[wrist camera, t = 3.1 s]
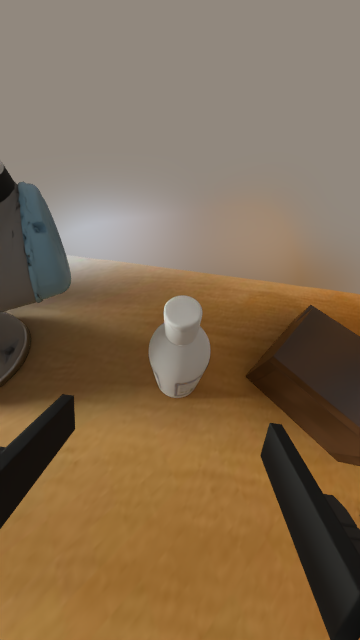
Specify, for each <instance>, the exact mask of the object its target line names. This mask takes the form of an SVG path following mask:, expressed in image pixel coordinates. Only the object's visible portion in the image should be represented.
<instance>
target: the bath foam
mask: <svg viewBox="0 0 360 640" xmlns="http://www.w3.org/2000/svg"><path fill="white" fill-rule="evenodd" d="M201 319H202V308H201V305H200V304H199V302H198V301H197V300H195V299H194V298H192V297H189V296H176V297H173V298H172V299H170V300H169V301H168V302H167V303H166V305H165V307H164V323H163V324H162V325H160V326H159V327H158V328H157V329H156V331H155V332H154V334H153V336H152V338H151V340H150V344H149V361H150V364H151V367H152V370H153V373H154V376H155V379H156V382H157V384H158V386H159V388H160V390H161V391H162V392H163V393H164V394H166V395H167V396H169V397H173V398H182V397H185V396H187V395H189V394H190V393H191V392H192V391H193V390H194V389H195V387H196V386H197V384H198V382H199V380H200V379H201V377H202V375H203V373H204V371H205V370H206V368H207V366H208V363H209V360H210V343H209V339H208V337H207V335H206V333H205V331H204V330H203V329H202V328H201V327H200V322H201Z"/></svg>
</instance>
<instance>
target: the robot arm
mask: <svg viewBox="0 0 360 640" xmlns="http://www.w3.org/2000/svg"><path fill="white" fill-rule="evenodd" d="M70 284H71V273H70V268H69V264H68V261H67V257H66V254H65V251H64V248H63V245H62V242H61V239H60V236H59V233H58V230H57V228H56V225H55V223H54V220H53V218H52V215H51V213H50V211H49V208H48V206H47V204H46V202H45V200H44V199H43V197H42V195H41V193H40V191H39V189H38V188H37V187H36V186H35V185H33V184H26V183H25V182H19V183H18V184H16V183H15V182H14V181H13V179H12V178H11V176H10V175H9V173H8V171H7V170H6V168H5V166H4V165H3V164H2V162H1V161H0V386H2V385H3V384H4V383H6V382H7V381H8V380H9V379H10V378H11V377H12V376H13V375H14V374H15V373H16V372H17V371H18V369H19V368H20V367H21V365H22V364H23V362H24V361H25V359H26V357H27V355H28V352H29V349H30V344H31V336H30V332H29V330H28V328H27V326H26V325H25V324H24V323H23V322H21V321H20V320H19V319H17V318H16V317H14V316H12V315H10V314H7V313H5V312H4V311H7V310H11V309H14V308H18V307H21V306H25V305H28V304H32V303H35V302H38V303H39V302H42V301H43V299H46V298H49V297H52V296H55V295H58V294H61V293H63V292H65V291H66V290H67V289H68V288H69V286H70ZM74 430H75V414H74V396H72V395H65V394H62V395H61V396H60V397H59V398H58V399H57V400H56V401H55V402H54V403H53V404H52V405H51V406H50V407H49V408H47V409H46V410H45V411H44V412H43V413H42V414H41V415H40V416H39V417H38V418H37V419H36V420H35V421H34V422H33V423H31V424H30V425H29V426H28V427H27V428H26V429H25V430H24V431H23V432H22V433H21V434H20V435H19V436H18V437H17V438H15V439H14V440H13V441H12V442H11V443H10V444H9V445H8V446H7V447H0V529H1V527H2V526H3V525H4V523H5V522H6V521H7V519H8V518H9V517H10V515H11V514H12V513H13V511H14V510H15V509H16V507H17V506H18V505H19V503H20V502H21V501H22V499H23V498H24V497H25V495H26V494H27V493H28V491H29V490H30V489H31V487H32V486H33V485H34V483H35V482H36V481H37V479H38V478H39V477H40V475H41V474H42V473H43V471H44V470H45V469H46V467H47V466H48V465H49V463H50V462H51V461H52V459H53V458H54V457H55V455H56V454H57V452H58V451H59V450H60V448H61V447H62V446H63V444H64V443H65V442H66V440H67V439H68V438H69V436H70V435H71V434H72V432H73V431H74ZM261 458H262V461H263V464H264V466H265V469H266V472H267V474H268V477H269V479H270V482H271V485H272V487H273V490H274V493H275V495H276V498H277V500H278V503H279V506H280V508H281V511H282V514H283V516H284V519H285V521H286V524H287V527H288V529H289V532H290V535H291V537H292V540H293V543H294V545H295V548H296V550H297V553H298V556H299V558H300V561H301V564H302V566H303V569H304V571H305V574H306V577H307V579H308V582H309V585H310V587H311V590H312V592H313V595H314V598H315V600H316V603H317V606H318V608H319V611H320V613H321V616H322V619H323V621H324V624H325V627H326V629H327V632H328V634H329V637H330V640H358V639H359V638H360V530H359V528H357V525H356V524H355V522H354V520H353V519H352V517H351V516H350V514H349V513H348V511H347V510H346V509H345V508H344V507H343V505H342V504H341V503H340V502H339V501H338V500H337V499H336V498H335V497H334V496H333V495H327V494H323V493H322V491H321V489H320V488H319V486H318V484H317V483H316V481H315V479H314V478H313V476H312V474H311V473H310V471H309V469H308V468H307V466H306V464H305V463H304V461H303V459H302V458H301V456H300V454H299V453H298V451H297V449H296V448H295V446H294V444H293V443H292V441H291V439H290V438H289V436H288V434H287V433H286V431H285V429H284V428H283V426H282V424H275V423H270V424H269V427H268V431H267V434H266V438H265V441H264V445H263V448H262V452H261Z"/></svg>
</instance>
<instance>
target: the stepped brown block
mask: <svg viewBox="0 0 360 640" xmlns="http://www.w3.org/2000/svg"><path fill="white" fill-rule="evenodd" d="M246 377H247V378H248V379H249V380H250V381H251V382H252V383H253V384H254V385H256V386H257V387H258V388H259V389H260V390H261V391H262V392H263V393H264V394H265V395H266V396H267V397H269V398H270V399H271V400H272V401H273V402H274V403H275V404H276V405H277V406H278V407H279V408H280V409H282V410H283V411H284V412H285V413H286V414H287V415H288V416H289V417H290V418H291V419H292V420H293V421H295V422H296V423H297V424H298V425H299V426H300V427H301V428H302V429H303V430H304V431H305V432H306V433H308V434H309V435H310V436H311V437H312V438H313V439H314V440H315V441H316V442H317V443H318V444H320V445H321V446H322V447H323V448H324V449H325V450H326V451H327V452H328V453H329V454H330V455H331V456H333V457H334V458H335V459H336V460H337V461H338V462H343V463H348V464H353V465H358V466H360V337H359V336H358V335H356V334H355V333H353V332H352V331H350V330H349V329H347V328H346V327H344V326H343V325H341V324H340V323H338V322H336V321H335V320H333V319H332V318H330V317H329V316H327V315H326V314H324V313H323V312H321V311H320V310H318V309H317V308H315V307H314V306H312V305H310V306H309V307H308V308H306V309H305V310H304V311H303V312H302V313H301V314H300V315H299V316H297V317H296V318H295V319H294V320H293V322H292V323H291V324H290V325H289V326H288V327H287V329H286V330H285V331H284V332H283V333H282V334H281V335H280V337H279V338H278V339H277V340H276V341H275V342H274V344H273V345H272V346H271V347H270V348H269V349H268V351H267V352H266V353H265V354H264V355H263V356H262V357H261V359H260V360H259V361H258V362H257V363H256V364H255V366H254V367H253V368H252V369H251V370H250V371H249V373H248V374H247V375H246Z"/></svg>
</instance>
